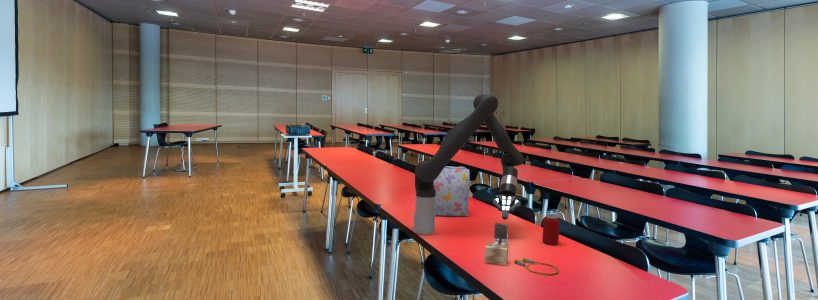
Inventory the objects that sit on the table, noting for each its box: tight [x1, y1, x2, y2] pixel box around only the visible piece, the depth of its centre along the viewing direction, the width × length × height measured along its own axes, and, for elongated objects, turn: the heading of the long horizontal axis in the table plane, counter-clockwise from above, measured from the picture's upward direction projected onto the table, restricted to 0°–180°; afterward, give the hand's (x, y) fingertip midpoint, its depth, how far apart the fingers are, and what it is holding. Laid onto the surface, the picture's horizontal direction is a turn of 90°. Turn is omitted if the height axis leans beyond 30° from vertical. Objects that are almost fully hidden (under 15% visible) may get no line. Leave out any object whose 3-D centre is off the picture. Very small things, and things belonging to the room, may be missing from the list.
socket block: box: [484, 242, 509, 266], centre depth 165 cm, size 8×6×6 cm
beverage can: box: [542, 214, 561, 246], centre depth 190 cm, size 7×7×12 cm
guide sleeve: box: [493, 233, 509, 246], centre depth 181 cm, size 5×16×4 cm, turn 163°
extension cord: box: [514, 257, 559, 276], centre depth 160 cm, size 12×16×2 cm
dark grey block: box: [493, 222, 509, 244], centre depth 173 cm, size 5×18×10 cm, turn 163°
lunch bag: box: [434, 165, 470, 217], centre depth 238 cm, size 22×17×26 cm
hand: (504, 218), depth 192 cm, fingers closed
